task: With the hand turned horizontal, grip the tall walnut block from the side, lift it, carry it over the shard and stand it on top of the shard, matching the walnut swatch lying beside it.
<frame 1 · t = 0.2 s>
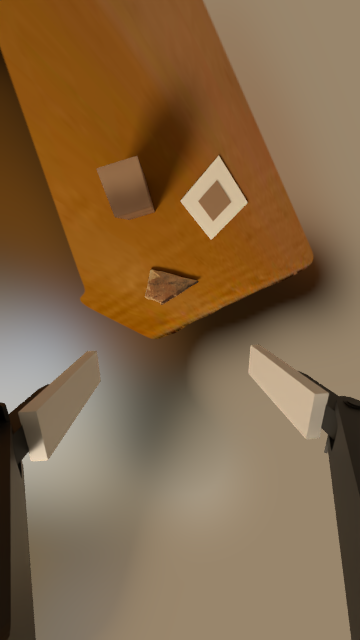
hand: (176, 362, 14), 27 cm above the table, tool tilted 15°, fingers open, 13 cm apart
shard: (166, 280, 39), on the table
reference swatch: (214, 201, 32), on the table
walnut block: (137, 200, 30), on the table
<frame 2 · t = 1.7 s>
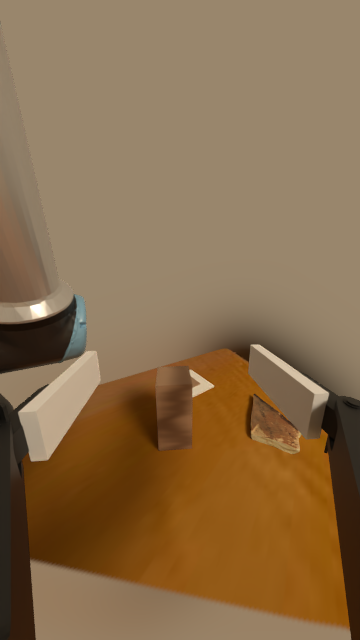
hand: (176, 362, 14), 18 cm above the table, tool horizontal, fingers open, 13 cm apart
shard: (262, 427, 30), on the table
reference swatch: (187, 383, 41), on the table
walnut block: (174, 434, 28), on the table
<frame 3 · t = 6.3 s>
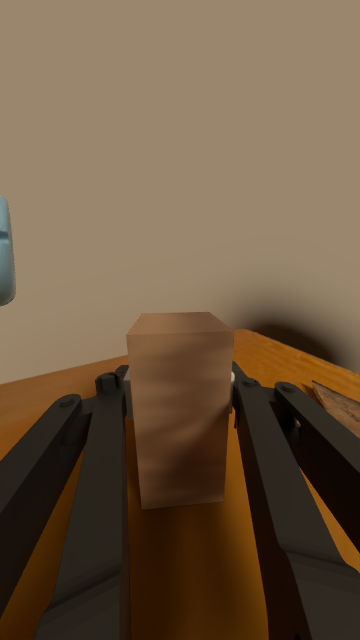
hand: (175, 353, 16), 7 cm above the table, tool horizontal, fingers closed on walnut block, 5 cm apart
shard: (355, 442, 15), on the table
walnut block: (180, 462, 13), on the table, touching gripper
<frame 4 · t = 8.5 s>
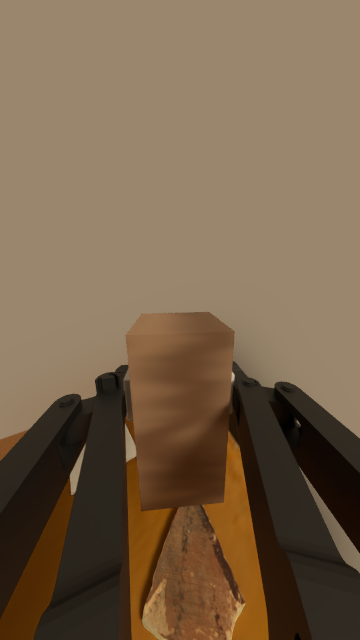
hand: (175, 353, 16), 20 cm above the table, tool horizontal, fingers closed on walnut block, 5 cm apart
shard: (182, 569, 16), on the table
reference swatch: (102, 447, 28), on the table
walnut block: (180, 463, 13), point 13 cm above the table, touching gripper
when the fingers open (10 cm above the table, at t = 11.1 s): walnut block drops 2 cm, resting on shard.
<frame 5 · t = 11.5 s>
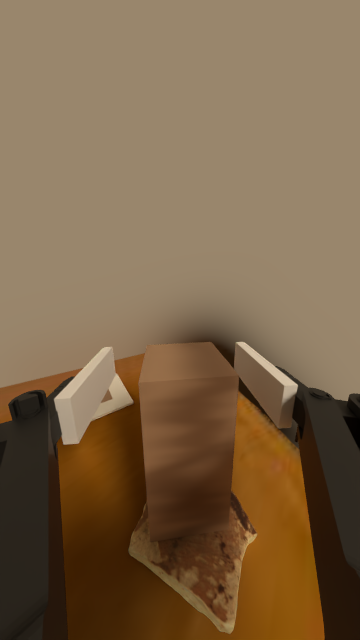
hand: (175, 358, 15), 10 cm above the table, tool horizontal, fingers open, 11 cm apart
shard: (179, 505, 14), on the table, touching walnut block
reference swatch: (93, 398, 25), on the table
walnut block: (184, 488, 13), point 1 cm above the table, touching shard
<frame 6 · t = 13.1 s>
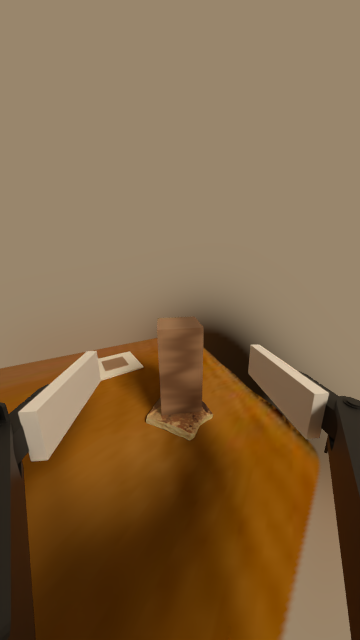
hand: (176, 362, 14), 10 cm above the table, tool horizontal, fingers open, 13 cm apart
shard: (173, 411, 24), on the table, touching walnut block
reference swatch: (114, 365, 35), on the table
walnut block: (179, 399, 23), point 1 cm above the table, touching shard
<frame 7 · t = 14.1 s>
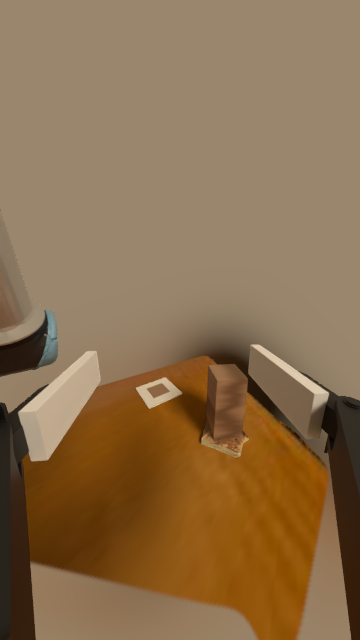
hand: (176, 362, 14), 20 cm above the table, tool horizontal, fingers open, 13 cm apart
shard: (216, 433, 32), on the table, touching walnut block
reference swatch: (158, 391, 44), on the table
walnut block: (222, 425, 31), point 1 cm above the table, touching shard
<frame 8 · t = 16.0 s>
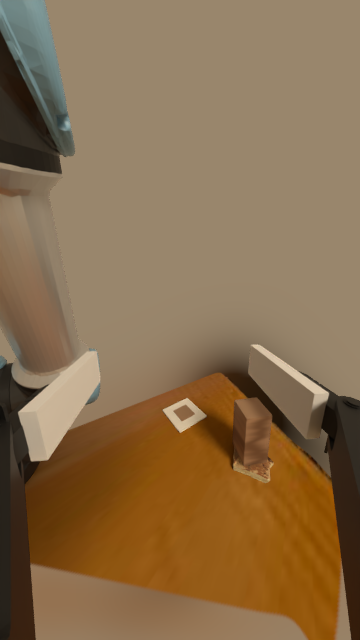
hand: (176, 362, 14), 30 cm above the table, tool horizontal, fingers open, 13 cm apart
shard: (243, 457, 37), on the table, touching walnut block
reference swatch: (184, 413, 48), on the table
walnut block: (248, 451, 36), point 1 cm above the table, touching shard
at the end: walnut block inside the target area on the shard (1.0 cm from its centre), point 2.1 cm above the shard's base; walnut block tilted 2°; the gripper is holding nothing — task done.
